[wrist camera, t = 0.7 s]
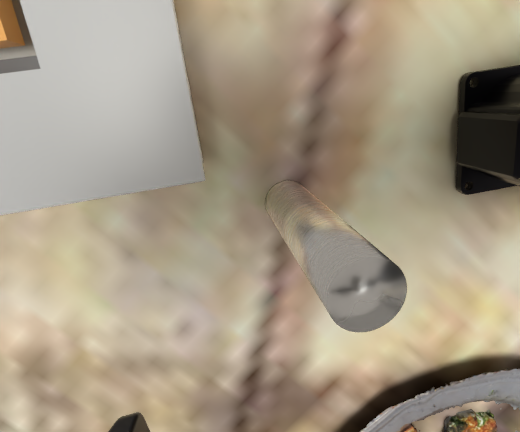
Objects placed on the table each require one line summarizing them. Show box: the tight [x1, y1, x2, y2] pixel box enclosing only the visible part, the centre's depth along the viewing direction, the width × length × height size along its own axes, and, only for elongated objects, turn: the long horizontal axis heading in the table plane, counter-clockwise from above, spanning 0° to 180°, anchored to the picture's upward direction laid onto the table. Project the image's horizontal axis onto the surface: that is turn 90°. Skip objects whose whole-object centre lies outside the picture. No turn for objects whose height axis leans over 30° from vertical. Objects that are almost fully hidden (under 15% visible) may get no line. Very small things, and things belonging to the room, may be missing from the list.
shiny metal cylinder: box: [265, 180, 407, 332], centre depth 15 cm, size 2×2×10 cm
